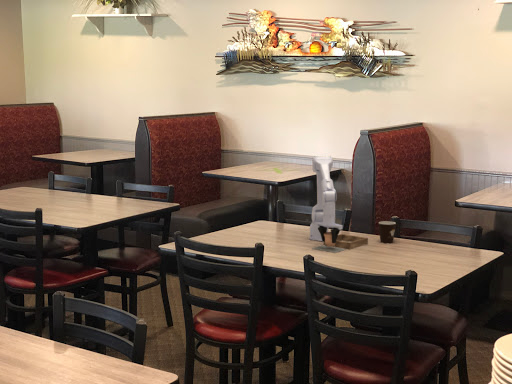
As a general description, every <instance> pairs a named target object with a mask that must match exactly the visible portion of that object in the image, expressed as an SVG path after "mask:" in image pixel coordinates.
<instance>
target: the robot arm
mask: <svg viewBox="0 0 512 384" xmlns="http://www.w3.org/2000/svg"><path fill="white" fill-rule="evenodd" d="M333 160H334V159H333V157H332V156H331V155H328V156H326V155H324V156H323V155H322V156H318V155H317V156H316V155H313V157H312V172H313V173H315V174H316V193H317V194H316V195H317V196H316V197H317V198H316V199H317V201H316V204H315V205H314V206H313V207H312V208H311V221H312V222H311V223H310V226H309V237H308V240H311V241H312V240H313V241H317V242H323V243H324V241H325V236H324V233H326V232H329V228H330V232H331V233H332V243H336V240H337V236H338V235H340V232H341V230H343V224H340V223H336V202H337V199H338V196H337V191H336V189H335V187H334V181H333V179H331V176H330V175H331V174H330V171H331V170H332V168H333V163H334V161H333Z"/></svg>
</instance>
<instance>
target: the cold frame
mask: <svg viewBox="0 0 512 384" xmlns="http://www.w3.org/2000/svg"><path fill="white" fill-rule="evenodd" d="M335 244H336V245H335V246H333V247H336V248H342V249H346V250H352V249H354V248H355V249H356V248H359V247H362V246H365V245H368V244H369V238H368V237H364V236H358V235H357V236H356V235H353V234H352V235H351V234H346V233H339V234H338V236H337V240H336V243H335ZM323 245H325V241H324V242H323Z"/></svg>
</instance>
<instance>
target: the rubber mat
mask: <svg viewBox="0 0 512 384" xmlns="http://www.w3.org/2000/svg"><path fill="white" fill-rule="evenodd" d="M311 249H312V250H317V251H324V252H328V253H334V254H336V253H340V252H342V251H346V250H347V249H346V248H340V247H334V246H331V247H328V246H325V245H324V244H323V245H318V246H315V247H312V248H311Z"/></svg>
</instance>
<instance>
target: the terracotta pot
mask: <svg viewBox="0 0 512 384" xmlns="http://www.w3.org/2000/svg"><path fill="white" fill-rule="evenodd" d="M324 236H325V246H328V247H334V246H335V245H336V244H335V243H332V233H331V231H328V232H326V233H324Z"/></svg>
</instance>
